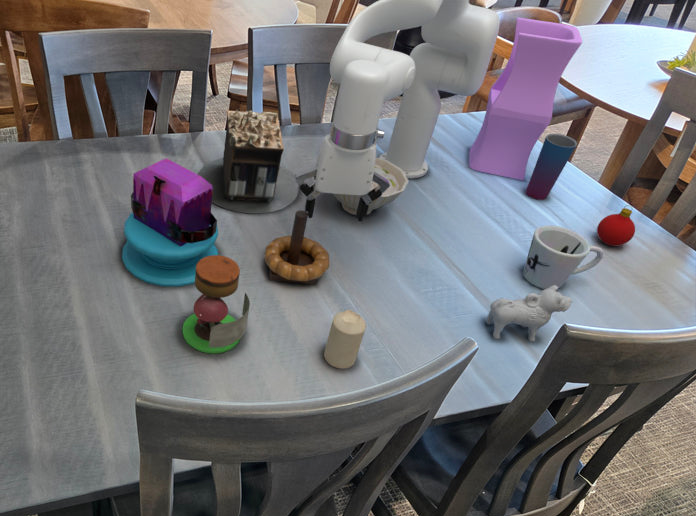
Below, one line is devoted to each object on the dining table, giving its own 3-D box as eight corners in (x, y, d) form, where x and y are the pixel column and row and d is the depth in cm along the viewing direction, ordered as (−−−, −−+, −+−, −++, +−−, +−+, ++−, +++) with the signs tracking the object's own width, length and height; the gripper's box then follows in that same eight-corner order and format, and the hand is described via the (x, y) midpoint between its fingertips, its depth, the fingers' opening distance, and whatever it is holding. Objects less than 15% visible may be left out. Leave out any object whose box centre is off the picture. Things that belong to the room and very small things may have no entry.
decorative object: (170, 300, 120) (173, 215, 107) (101, 254, 130) (97, 170, 117) (237, 256, 132) (247, 174, 119) (169, 217, 141) (172, 137, 129)
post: (269, 253, 133) (278, 198, 124) (312, 257, 133) (324, 203, 124) (269, 280, 126) (278, 224, 118) (314, 284, 126) (326, 229, 117)
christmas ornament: (588, 243, 142) (609, 206, 136) (594, 229, 147) (615, 193, 140) (622, 256, 139) (645, 218, 133) (628, 241, 143) (650, 204, 137)
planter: (319, 195, 152) (334, 123, 140) (237, 225, 140) (245, 149, 128) (255, 151, 167) (263, 82, 155) (176, 174, 156) (178, 103, 144)
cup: (553, 203, 155) (580, 148, 145) (524, 199, 155) (549, 144, 146) (547, 189, 160) (573, 135, 150) (519, 185, 160) (543, 131, 151)
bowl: (300, 205, 148) (307, 168, 141) (344, 177, 159) (352, 141, 153) (371, 241, 138) (382, 202, 132) (413, 208, 150) (425, 171, 143)
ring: (265, 241, 134) (266, 229, 132) (326, 248, 133) (329, 236, 131) (262, 279, 124) (264, 267, 122) (329, 287, 123) (332, 275, 121)
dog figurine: (556, 343, 117) (582, 300, 110) (488, 339, 116) (510, 296, 109) (544, 323, 121) (569, 280, 114) (478, 319, 120) (499, 276, 113)
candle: (320, 346, 113) (331, 305, 106) (350, 345, 113) (362, 304, 107) (327, 369, 108) (339, 328, 102) (358, 368, 109) (372, 327, 102)
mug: (508, 261, 135) (526, 223, 129) (577, 265, 135) (598, 227, 129) (526, 293, 127) (546, 254, 121) (599, 297, 127) (623, 259, 121)
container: (469, 146, 176) (516, 16, 153) (521, 156, 173) (577, 26, 150) (468, 169, 166) (519, 34, 143) (524, 180, 163) (584, 44, 140)
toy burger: (166, 346, 111) (168, 281, 101) (195, 303, 120) (199, 240, 110) (228, 369, 107) (237, 303, 98) (253, 323, 116) (263, 259, 107)
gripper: (399, 128, 112) (377, 208, 123) (301, 121, 112) (288, 201, 124) (406, 149, 106) (382, 231, 117) (303, 141, 107) (289, 224, 118)
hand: (334, 216), depth 121 cm, fingers open, 9 cm apart
